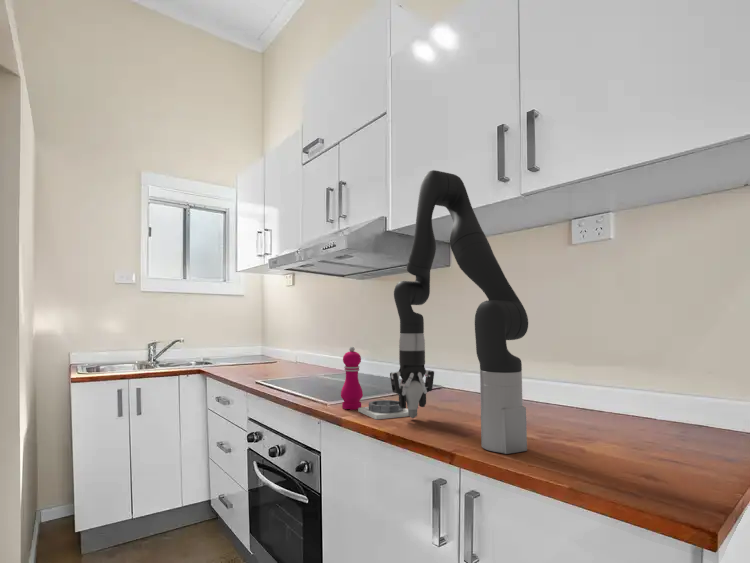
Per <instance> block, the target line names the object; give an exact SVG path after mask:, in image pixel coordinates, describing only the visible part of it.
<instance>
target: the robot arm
mask: <svg viewBox="0 0 750 563" xmlns="http://www.w3.org/2000/svg"><path fill="white" fill-rule="evenodd" d="M417 201H418V202H417V210H416V219H415V227H414V236H413V241H412V244H411V249H410V253H409V257H408V260H407V264H406V271H407V273H409V274H411V275H412V276H414V277H415V280H414V281H413V280H409V281H408V280H400V281H399V282H398V283H396V285H395V286H394V291H393V300H394V302H395V306H396V309H397V314H398V318H399V341H398V342H399V343H398V344H399V345H398V346H399V347H398V348H399V349H398V351H399V352H398V354H399V355H398V356H399V357H398V358H399V370H398V371H395V372H393V371H390V373H389V378H390V384H391V390H392V392H393V393H395V394H397V395H398V401H399V406H400V407H401V408H402V409H407V402H406V396H405V394H406V389H407V388H408V387H409V386H410V383H411V382H412V381H418V382H420V384H421V385H422V387H423V394H422V396H421V398H420V400H419V404H418V407H421V408H425V406H426V405H427V393H428V392H433V386H434V377H435V371H434V370H429V369H426V368H425V364H426V340H425V331H424V330H425V323H424V322H425V321H424V316H423V315H422V314H421V313H419V312H418V313H417V312H415V311H414V309H413V307H412V306H422V305H424V304H425V303H426V302H427V301H428V300H429V297H430V294H431V287H430V286H431V270H432V266H433V263H434V259H435V256H436V250H437V243H436V238H435V234H434V228H433V214H434V210H435V207H436V206H439V207H444V208H446V209H447V210H448V212H449V214H450V217H451V220H452V222H453V225H452V229H451V232H450V238H449V245H450V249H451V252H452V254H453V256H454V259H455V261H456V263H457V265H458V267H459V269H460V270H461V271H462V272H463V273H464V274H465V275H466V276H467V277H468V278H469V280H471V281H472V282H473V283H474V284H475V285H476V286H477V287H478V288H479V289H480V290H481V291H483V293H484V295H485V296H486V298H487V299H488V300H484V301H482V302H481V303H480V304H479V305H478V307H477V308H476V311H475V313H474V314H475V316H474V336H475V349H476V357H477V360H478V362H479V363H478V364H479V378H480V386H479V387H480V389H479V390H480V431H481V432H480V433H481V434H480V435H481V436H480V439H481V441H480V442H481V443H480V444H481V448H483V449H484V450H487V451H490V452H494V453H501V454H504V455H508V454H515V453H522V452H526V451H528V437H527V435H528V434H527V431H528V430H527V407H525V405H523V403H524V402H523V372H522V371H523V369H522V368H523V366H522V360H521V358H519V357H518V356H516V355H514V354H513V353H511V352H510V351H509V349H508V346H507V344H508V343H507V341H515V340H520V339H522V338H523V337H524V336H525V335H526V334H527V332H528V329H529V316H528V314H527V310H526V309H525V307H524V305H523V303H522V302H521V300H520V298H519V297H518V295H517V293H516V292H515V291H514V289H513V287H512V286H511V284H510V283H509V280H508V278H506V276H505V273H504V271H503V270H502V267H501V265H500V264H499V262H498V260H497V258H496V256H495V253H494V252H493V250H492V246H491V245H490V242H489V240H488V238H487V236H486V234H485V232H484V231H483V229H482V227H481V225H480V222H479V220H478V218H477V215H476V213H475V211H474V209H473V207H472V203H471V200H470V198H469V194H468V192H467V189H466V186H465V184H464V182H463V180H462V178H461V177H459V176H458V175H457V174H453V173H449V172H445V171H439V170H435V169H433V170H430V171H428V172H427V173H425V174H424V176H423V178H422V180H421V184H420V188H419V194H418V200H417ZM424 377H425V380H424V379H423V378H424ZM399 379H401V380H399ZM399 381H400V382H399ZM404 383H405V384H404Z"/></svg>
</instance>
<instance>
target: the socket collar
mask: <svg viewBox="0 0 750 563" xmlns="http://www.w3.org/2000/svg"><path fill="white" fill-rule="evenodd" d="M368 407H369V411H372V412H378V413H395V412H400V411H403V409H402V408H401V407H400V406H399V400H393V399H379V400H378V399H377V400H372V401H369V402H368Z"/></svg>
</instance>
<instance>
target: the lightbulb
mask: <svg viewBox="0 0 750 563" xmlns="http://www.w3.org/2000/svg"><path fill="white" fill-rule="evenodd" d="M404 384H405V383H404ZM422 394H423V387H422V385H421V384H420V382H418V381H412V382H411V383H410V386H409V387H408V388H407V389H406V394H405V396H406V409H408V415H409V416H408V417H410V418H411V419H415V418H416V417H417V416H418V409H419V400H420V398H421V396H422Z"/></svg>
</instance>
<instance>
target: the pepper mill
mask: <svg viewBox="0 0 750 563" xmlns="http://www.w3.org/2000/svg"><path fill="white" fill-rule="evenodd" d="M348 350H349V351H347V352H345V353H344V354H343V357H342V362H343V364H344V365H345V366H344V372H345V379H344V383H343V385H342V388H341V391H340V398H341V399H342V400H343V402H342V403H341V405H342V407H341V408H342V409H344V410H347V409H350V410H349V411H352V410H353V411H354V410H358V408H361V407H362V402H361V400H362V399H363V395H364V393H363V389H362V386H361V384H360V381H359V371H360V366H359V365H360V364H361V362H362V356H361V354H360V353H358V352H356V351H355V347H354V346H350V347H349V349H348Z"/></svg>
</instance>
